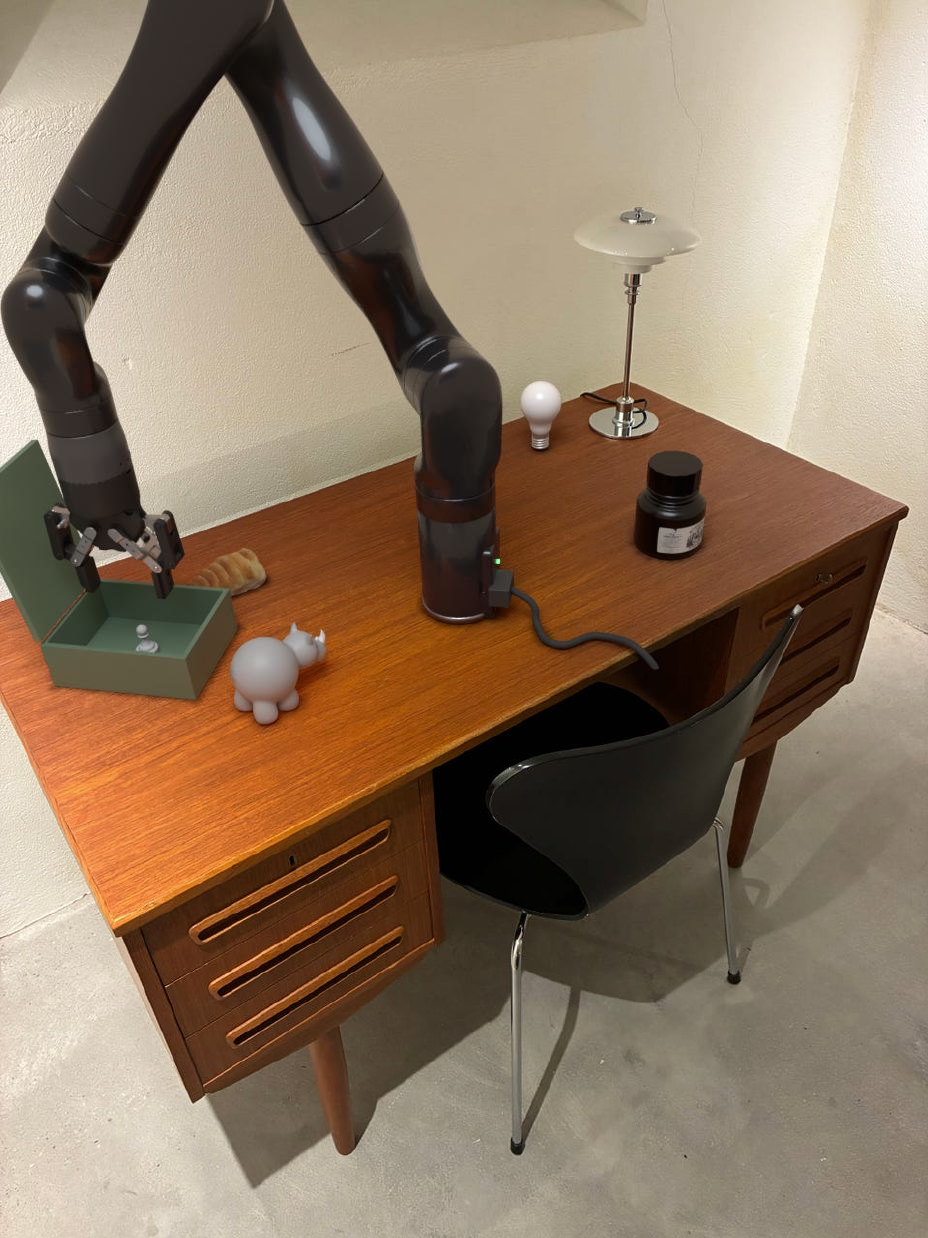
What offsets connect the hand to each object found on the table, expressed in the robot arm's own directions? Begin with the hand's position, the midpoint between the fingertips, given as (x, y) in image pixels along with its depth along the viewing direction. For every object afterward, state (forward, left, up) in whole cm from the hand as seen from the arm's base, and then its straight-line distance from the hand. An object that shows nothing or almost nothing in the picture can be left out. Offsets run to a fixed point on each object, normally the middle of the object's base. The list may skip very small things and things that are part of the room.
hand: (129, 592), depth 111 cm
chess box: (0, 0, -9) cm, 9 cm away
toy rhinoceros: (-19, +4, -10) cm, 21 cm away
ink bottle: (-60, -33, -10) cm, 69 cm away
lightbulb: (-40, -58, -10) cm, 71 cm away
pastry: (-5, -16, -10) cm, 19 cm away
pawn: (0, 0, -9) cm, 9 cm away
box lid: (+9, 0, +6) cm, 11 cm away
